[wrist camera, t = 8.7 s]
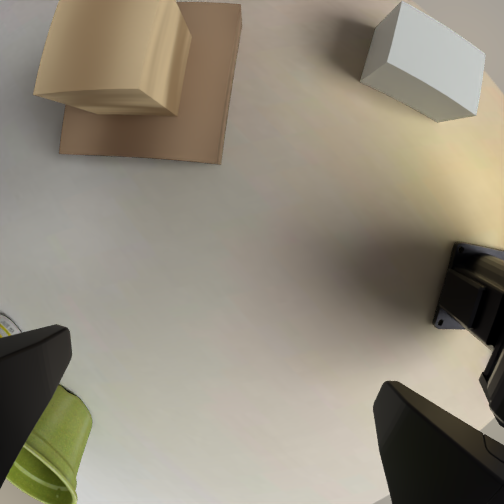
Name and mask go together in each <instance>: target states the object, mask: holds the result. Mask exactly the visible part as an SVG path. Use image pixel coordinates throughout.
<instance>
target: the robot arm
mask: <svg viewBox="0 0 504 504" xmlns="http://www.w3.org/2000/svg"><path fill="white" fill-rule="evenodd" d="M460 247H461V250H460V251H459V248H460ZM439 320H441V321H440V322H439ZM438 322H439V323H438ZM433 325H434V326H435V327H436V328H438V329H466V330H468V331H469V332H470V333H471V334H472V335H474V336H475V337H476V338H477V339H478V340H479V341H481V342H482V343H483V344H484V345H485V346H486V347H488V348H489V349H490V350H491V351H492V355H491V357H490V359H489V362H488V364H487V366H486V368H485V370H484V372H482V374H481V376H480V378H479V382H480V384H481V386H482V388H483V390H484V393H485V395H486V397H487V400H488V402H489V407H490V410H491V411H492V412H493V414H494V416H495V418H496V420H497V421H498V423H499V425H500V426H502V427H504V251H502V250H497V249H493V248H488V247H483V246H478V245H474V244H469V243H464V242H457V243H455V245H454V247H453V250H452V255H451V259H450V263H449V267H448V271H447V274H446V278H445V282H444V286H443V289H442V293H441V296H440V299H439V303H438V306H437V309H436V313H435V316H434V319H433ZM71 357H72V348H71V338H70V331H69V329H68V328H67V327H64V326H61V325H57V324H56V325H51V326H47V327H43V328H39V329H35V330H31V331H27V332H23V333H19V334H14V335H10V336H6V337H2V338H0V488H1V486H2V484H3V482H4V480H5V479H6V477H7V475H8V473H9V471H10V469H11V467H12V466H13V464H14V462H15V460H16V458H17V456H18V455H19V453H20V451H21V449H22V448H23V446H24V444H25V442H26V441H27V439H28V437H29V435H30V434H31V432H32V430H33V429H34V427H35V425H36V424H37V422H38V420H39V419H40V417H41V415H42V414H43V412H44V410H45V409H46V407H47V405H48V404H49V402H50V400H51V399H52V397H53V395H54V393H55V391H56V389H57V387H58V385H59V383H60V380H61V378H62V376H63V374H64V372H65V370H66V368H67V366H68V364H69V362H70V360H71ZM373 413H374V419H375V425H376V432H377V439H378V446H379V452H380V456H381V460H382V464H383V468H384V472H385V476H386V480H387V484H388V488H389V492H390V496H391V500H392V504H504V445H503V444H501V443H499V442H497V441H495V440H494V439H492V438H490V437H489V436H487V435H483V433H482V432H480V431H478V430H477V429H475V428H473V427H472V426H470V425H468V424H467V423H465V422H463V421H462V420H460V419H458V418H457V417H455V416H453V415H452V414H450V413H448V412H447V411H445V410H443V409H442V408H440V407H439V406H437V405H435V404H434V403H432V402H430V401H429V400H427V399H426V398H424V397H422V396H421V395H419V394H418V393H416V392H414V391H413V390H411V389H410V388H408V387H406V386H405V385H403V384H402V383H400V382H398V381H386V382H384V383H383V385H382V387H381V389H380V391H379V393H378V395H377V398H376V400H375V402H374V405H373Z"/></svg>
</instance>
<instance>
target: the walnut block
mask: <svg viewBox="0 0 504 504" xmlns="http://www.w3.org/2000/svg"><path fill="white" fill-rule="evenodd" d="M176 3H177V5H178V7H179V9H180V11H181V14H182V16H183V18H184V20H185V22H186V25H187V27H188V29H189V31H190V34H191V36H192V39H191V44H190V49H189V54H188V59H187V64H186V70H185V75H184V80H183V86H182V92H181V98H180V104H179V110H178V117H176V116H157V115H124V114H95V113H92V112H89V111H86V110H82V109H79V108H76V107H73V106H69V105H65V111H64V118H63V125H62V132H61V140H60V149H59V154H73V155H100V156H122V157H139V158H154V159H167V160H179V161H190V162H201V163H210V164H220V165H221V160H222V153H223V145H224V138H225V131H226V123H227V117H228V110H229V103H230V96H231V90H232V83H233V77H234V70H235V64H236V58H237V52H238V46H239V40H240V34H241V29H242V18H241V4H229V3H208V2H176Z"/></svg>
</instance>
